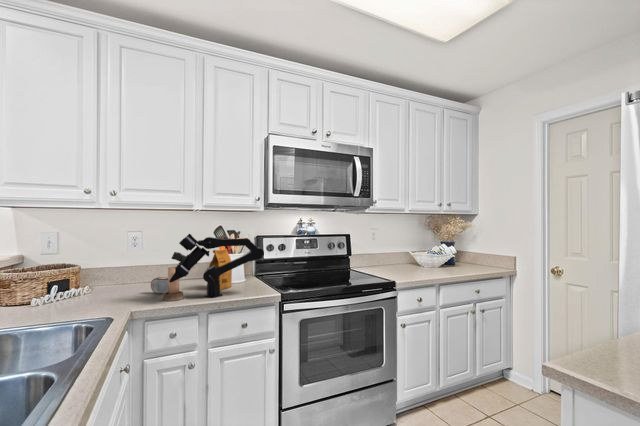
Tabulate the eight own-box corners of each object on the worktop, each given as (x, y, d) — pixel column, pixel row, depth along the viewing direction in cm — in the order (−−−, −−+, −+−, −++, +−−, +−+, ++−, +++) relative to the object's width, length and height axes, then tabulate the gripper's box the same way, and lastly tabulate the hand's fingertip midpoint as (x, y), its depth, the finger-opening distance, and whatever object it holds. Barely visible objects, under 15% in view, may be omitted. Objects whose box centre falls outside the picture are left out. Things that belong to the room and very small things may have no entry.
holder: (187, 298, 163) (187, 292, 163) (169, 302, 156) (169, 295, 156) (176, 296, 168) (176, 290, 169) (159, 299, 161) (159, 293, 161)
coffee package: (205, 289, 183) (205, 249, 184) (220, 285, 195) (220, 248, 195) (219, 291, 179) (219, 250, 180) (234, 286, 190) (234, 248, 191)
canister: (180, 294, 162) (180, 267, 162) (170, 295, 159) (170, 268, 159) (176, 292, 166) (176, 266, 166) (166, 294, 162) (166, 267, 163)
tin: (177, 293, 174) (177, 277, 174) (173, 295, 171) (173, 278, 171) (154, 292, 178) (154, 276, 178) (149, 293, 175) (149, 277, 175)
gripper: (183, 244, 173) (160, 267, 169) (180, 247, 155) (154, 272, 151) (199, 259, 175) (177, 281, 171) (198, 263, 157) (173, 288, 154)
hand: (170, 280), depth 162 cm, fingers closed on canister, 5 cm apart
